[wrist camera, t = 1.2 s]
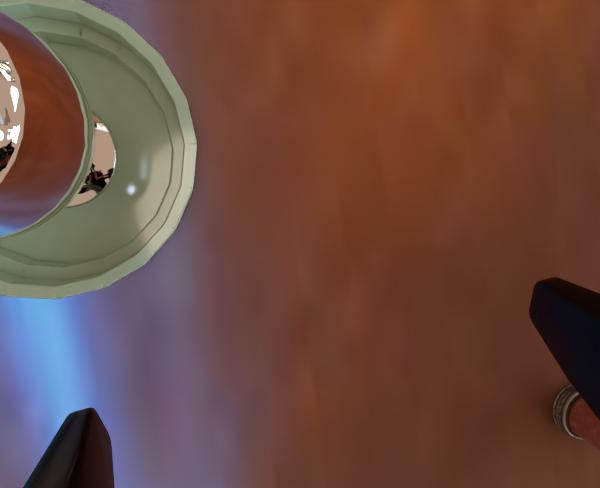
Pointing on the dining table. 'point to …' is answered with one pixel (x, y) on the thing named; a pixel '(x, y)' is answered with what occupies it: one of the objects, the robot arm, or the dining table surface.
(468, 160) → the dining table surface
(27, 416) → the dining table surface
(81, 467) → the robot arm
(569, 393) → the lighter
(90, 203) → the dish
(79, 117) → the wineglass
